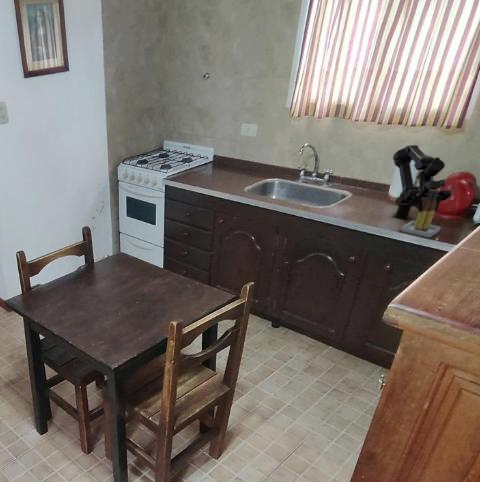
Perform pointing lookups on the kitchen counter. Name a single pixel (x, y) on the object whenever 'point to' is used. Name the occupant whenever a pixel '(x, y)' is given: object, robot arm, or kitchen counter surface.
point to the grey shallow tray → (410, 229)
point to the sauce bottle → (426, 211)
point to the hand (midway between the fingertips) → (428, 211)
